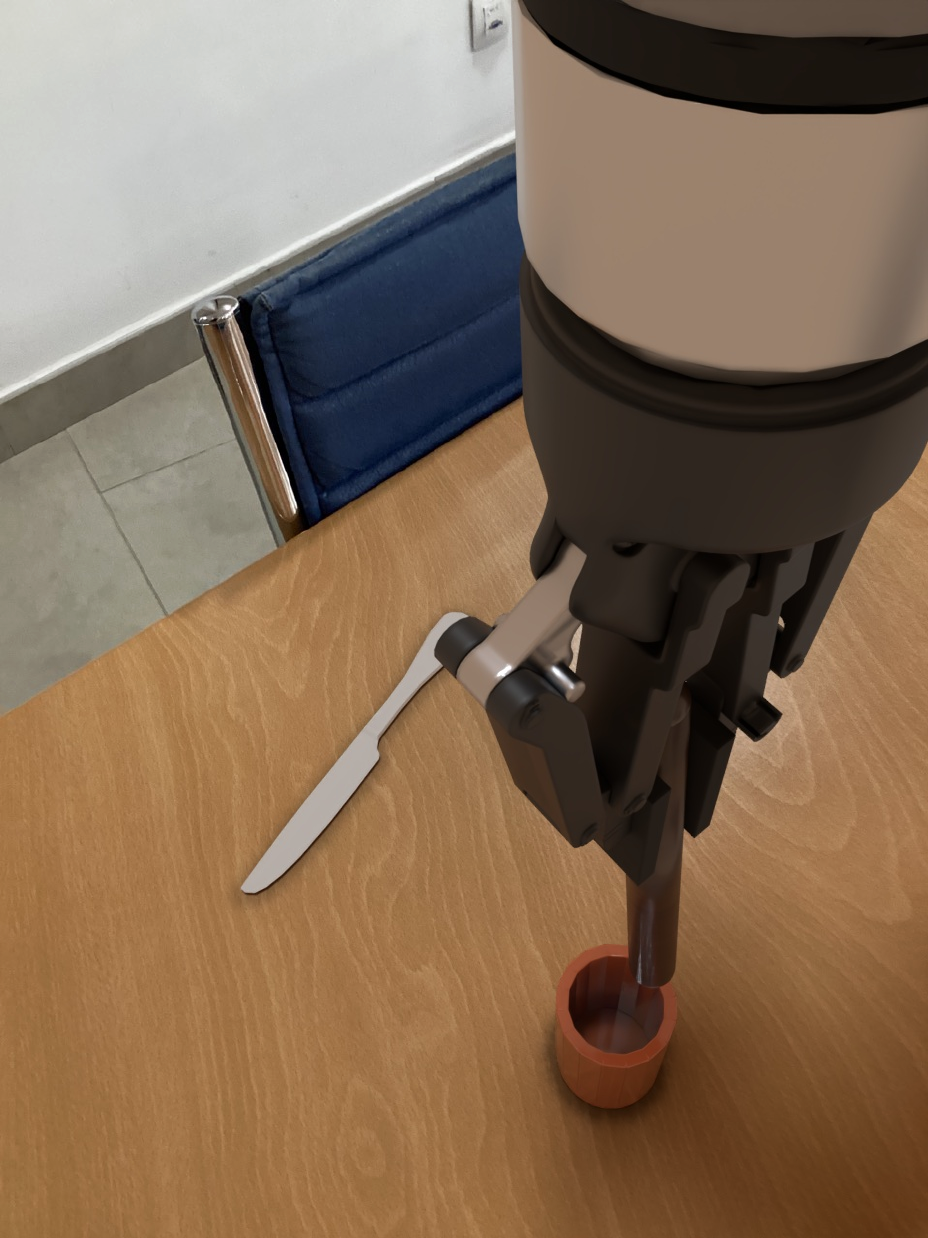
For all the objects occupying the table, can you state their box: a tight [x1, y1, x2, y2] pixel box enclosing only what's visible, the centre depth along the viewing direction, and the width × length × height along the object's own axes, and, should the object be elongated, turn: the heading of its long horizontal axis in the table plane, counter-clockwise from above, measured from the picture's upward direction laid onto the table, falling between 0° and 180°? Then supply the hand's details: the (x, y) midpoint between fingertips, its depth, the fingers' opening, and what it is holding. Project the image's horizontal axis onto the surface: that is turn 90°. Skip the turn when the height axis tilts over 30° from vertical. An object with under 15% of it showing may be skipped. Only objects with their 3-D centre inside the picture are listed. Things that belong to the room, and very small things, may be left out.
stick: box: [625, 681, 691, 988], centre depth 38 cm, size 2×2×22 cm
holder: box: [555, 943, 678, 1110], centre depth 54 cm, size 6×6×10 cm
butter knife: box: [239, 611, 469, 894], centre depth 69 cm, size 1×24×3 cm
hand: (646, 826), depth 37 cm, fingers closed on stick, 2 cm apart
